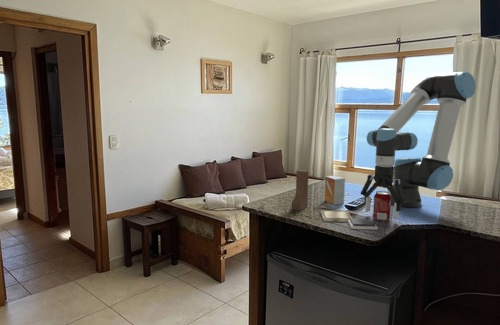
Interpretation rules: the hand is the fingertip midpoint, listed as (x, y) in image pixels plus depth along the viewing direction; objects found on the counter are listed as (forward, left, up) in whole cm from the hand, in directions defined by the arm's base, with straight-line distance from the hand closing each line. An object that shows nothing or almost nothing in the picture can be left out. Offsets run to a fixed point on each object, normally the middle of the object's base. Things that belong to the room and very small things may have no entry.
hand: (381, 214), depth 153 cm
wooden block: (+34, -14, -2) cm, 37 cm away
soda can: (0, 0, -2) cm, 2 cm away
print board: (+19, -2, -2) cm, 19 cm away
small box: (+16, -26, -2) cm, 31 cm away
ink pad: (+10, +9, -2) cm, 14 cm away
